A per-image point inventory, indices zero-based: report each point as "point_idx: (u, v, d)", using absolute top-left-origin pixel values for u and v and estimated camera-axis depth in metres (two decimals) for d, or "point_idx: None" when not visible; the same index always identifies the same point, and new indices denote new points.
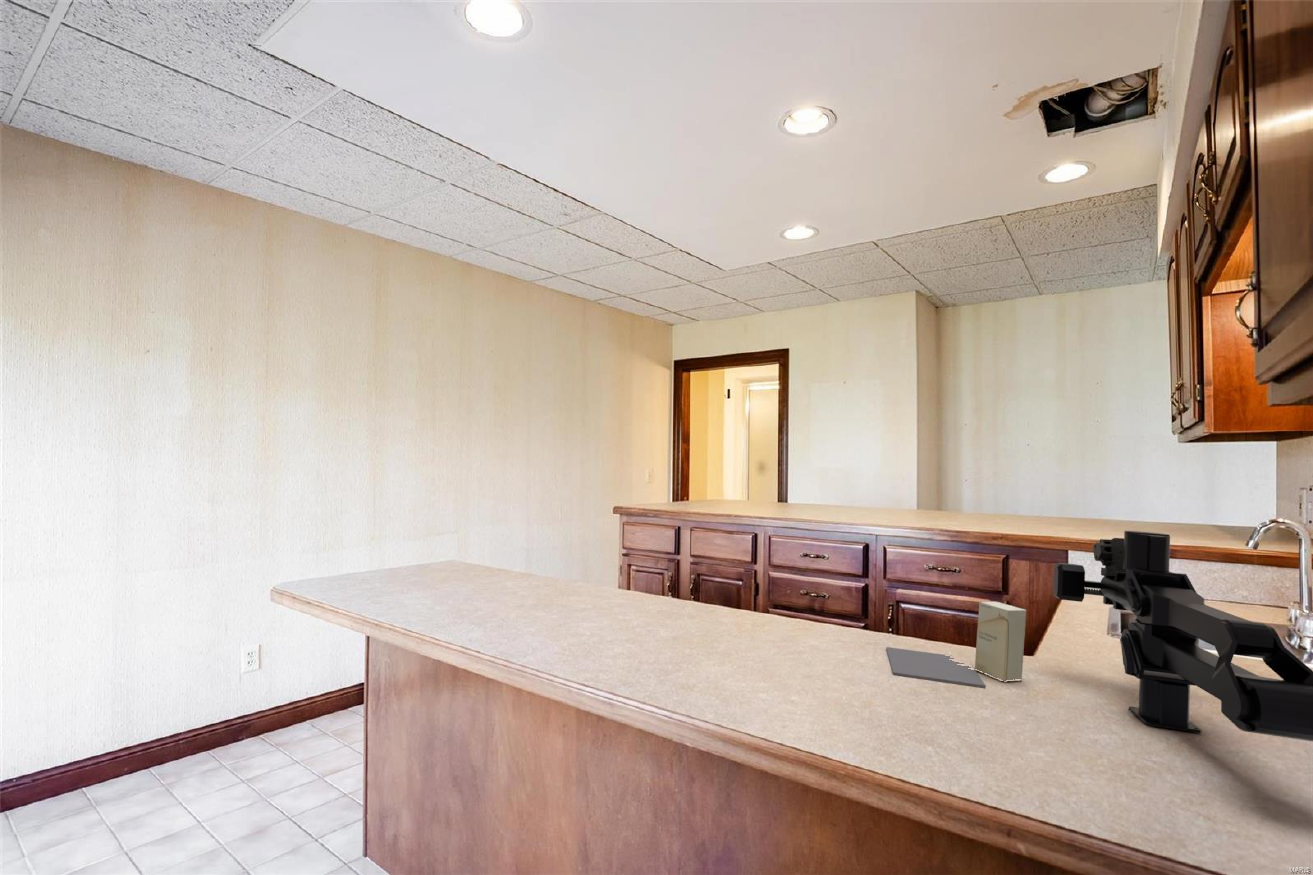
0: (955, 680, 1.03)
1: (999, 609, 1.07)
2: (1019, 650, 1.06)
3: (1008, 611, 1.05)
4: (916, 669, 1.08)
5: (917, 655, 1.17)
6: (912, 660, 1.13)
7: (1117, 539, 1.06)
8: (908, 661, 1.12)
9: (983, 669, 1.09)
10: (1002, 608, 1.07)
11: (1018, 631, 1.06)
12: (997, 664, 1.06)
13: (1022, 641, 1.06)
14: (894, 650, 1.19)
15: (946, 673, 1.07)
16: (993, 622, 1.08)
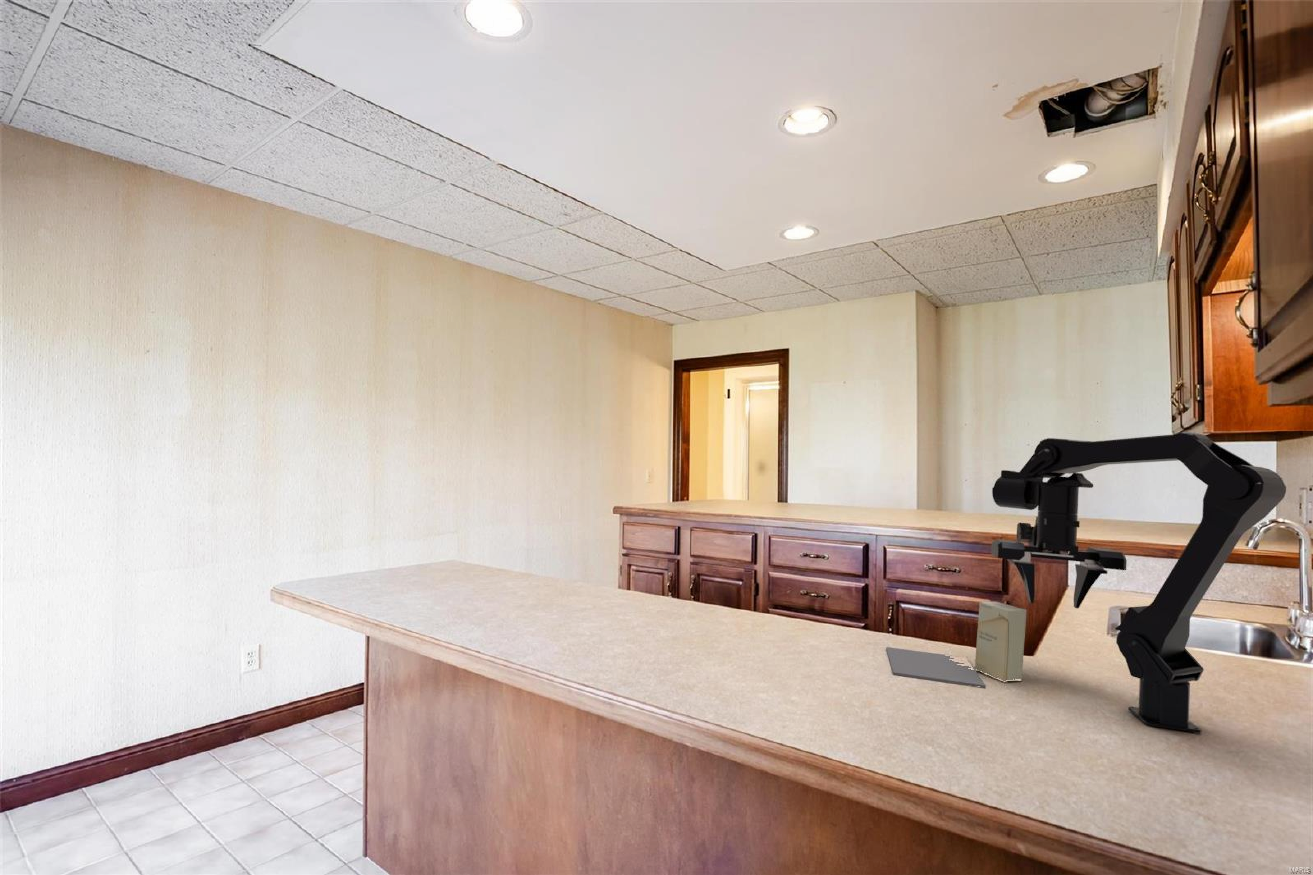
0: (955, 680, 1.03)
1: (999, 609, 1.07)
2: (1019, 650, 1.06)
3: (1008, 611, 1.05)
4: (916, 669, 1.08)
5: (917, 655, 1.17)
6: (912, 660, 1.13)
7: None
8: (908, 661, 1.12)
9: (983, 669, 1.09)
10: (1002, 608, 1.07)
11: (1018, 631, 1.06)
12: (997, 664, 1.06)
13: (1022, 641, 1.06)
14: (894, 650, 1.19)
15: (946, 673, 1.07)
16: (993, 622, 1.08)
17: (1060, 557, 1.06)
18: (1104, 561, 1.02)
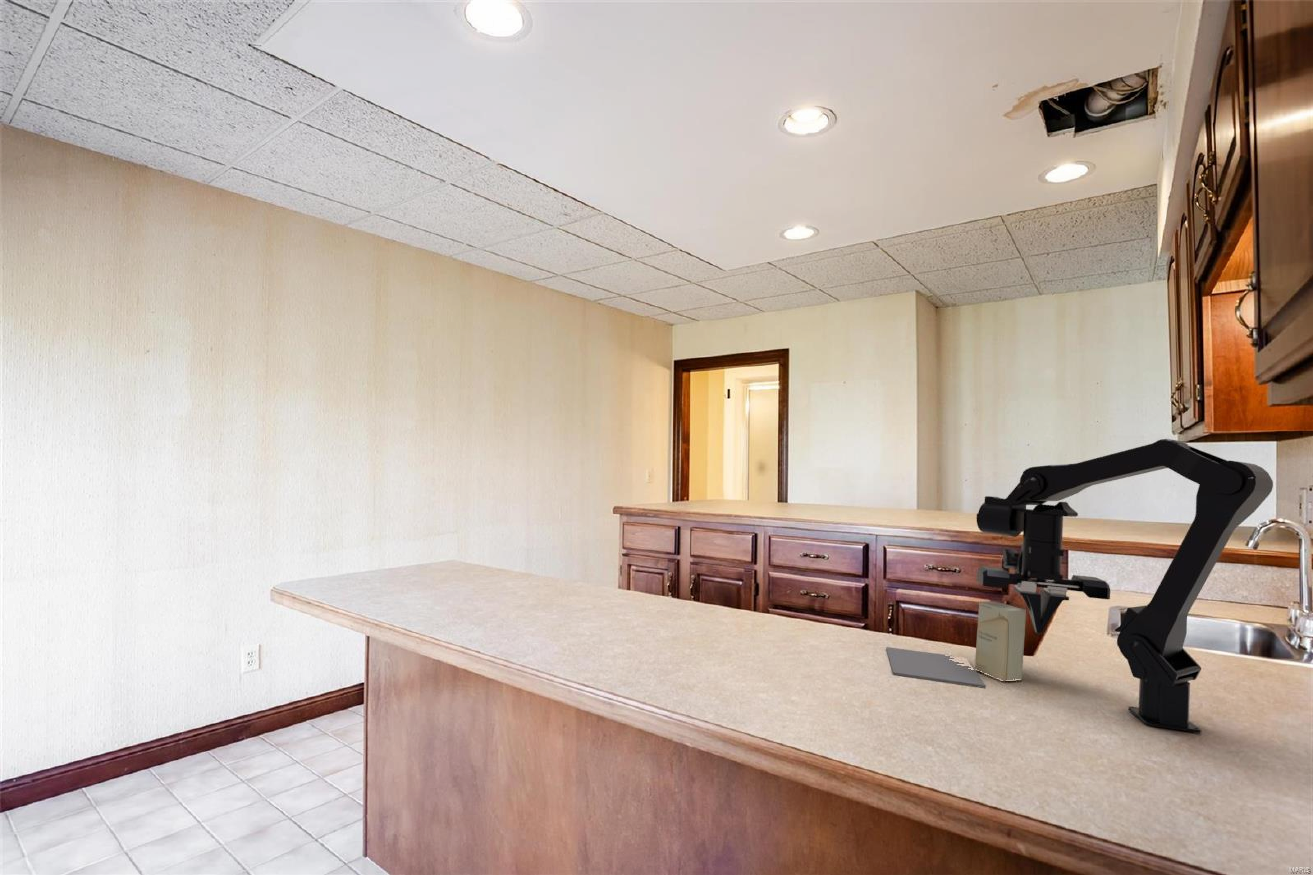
0: (955, 680, 1.03)
1: (999, 609, 1.07)
2: (1019, 650, 1.06)
3: (1008, 611, 1.05)
4: (916, 669, 1.08)
5: (917, 655, 1.17)
6: (912, 660, 1.13)
7: None
8: (908, 661, 1.12)
9: (983, 669, 1.09)
10: (1002, 608, 1.07)
11: (1018, 631, 1.06)
12: (997, 664, 1.06)
13: (1022, 641, 1.06)
14: (894, 650, 1.19)
15: (946, 673, 1.07)
16: (993, 622, 1.08)
17: (1045, 585, 1.07)
18: (1088, 590, 1.03)
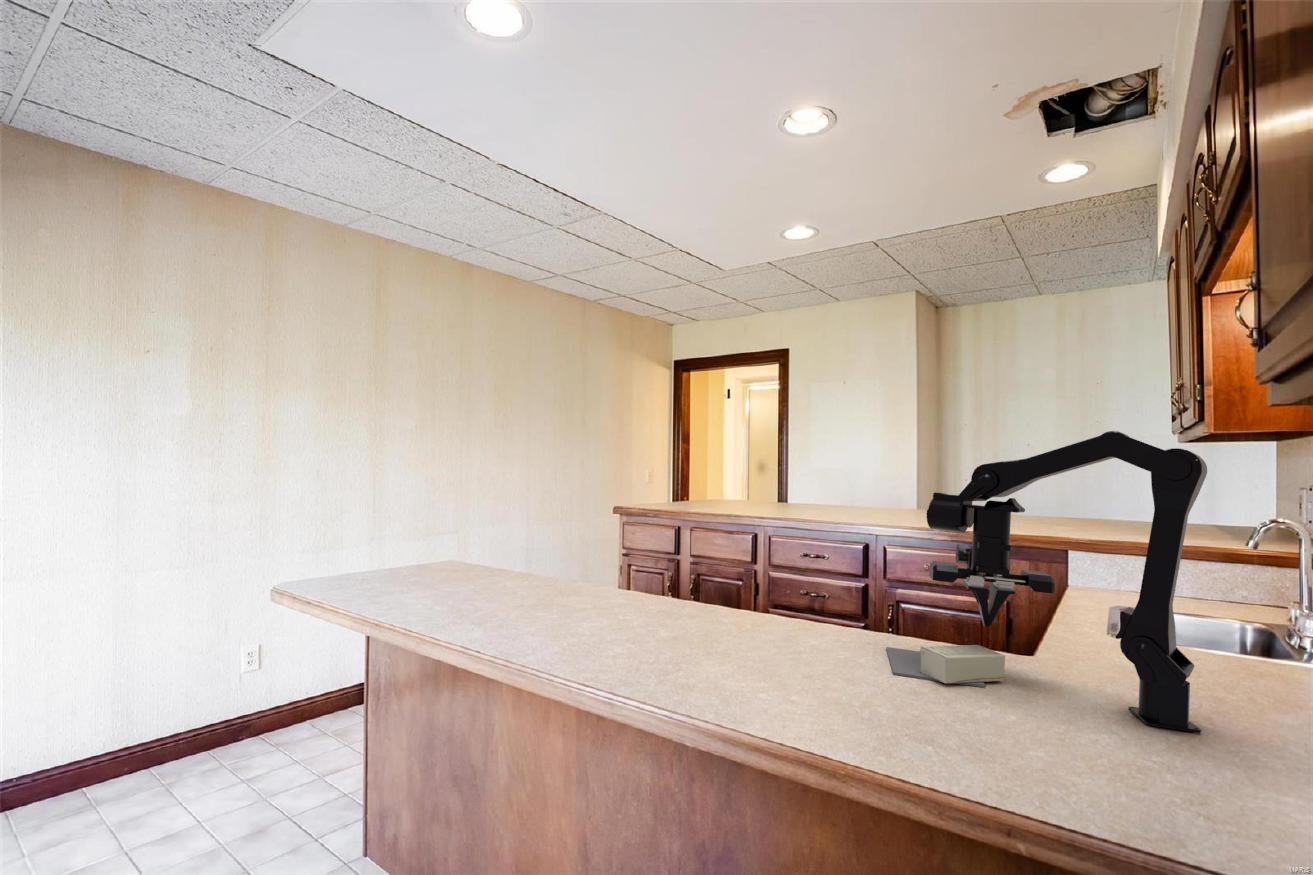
0: None
1: (939, 680, 1.03)
2: (980, 663, 1.03)
3: (946, 682, 1.01)
4: (916, 669, 1.08)
5: (917, 655, 1.17)
6: (912, 660, 1.13)
7: None
8: (908, 661, 1.12)
9: None
10: (939, 678, 1.03)
11: (964, 667, 1.02)
12: None
13: (973, 660, 1.03)
14: (894, 650, 1.19)
15: None
16: None
17: (993, 579, 1.09)
18: (1033, 584, 1.05)
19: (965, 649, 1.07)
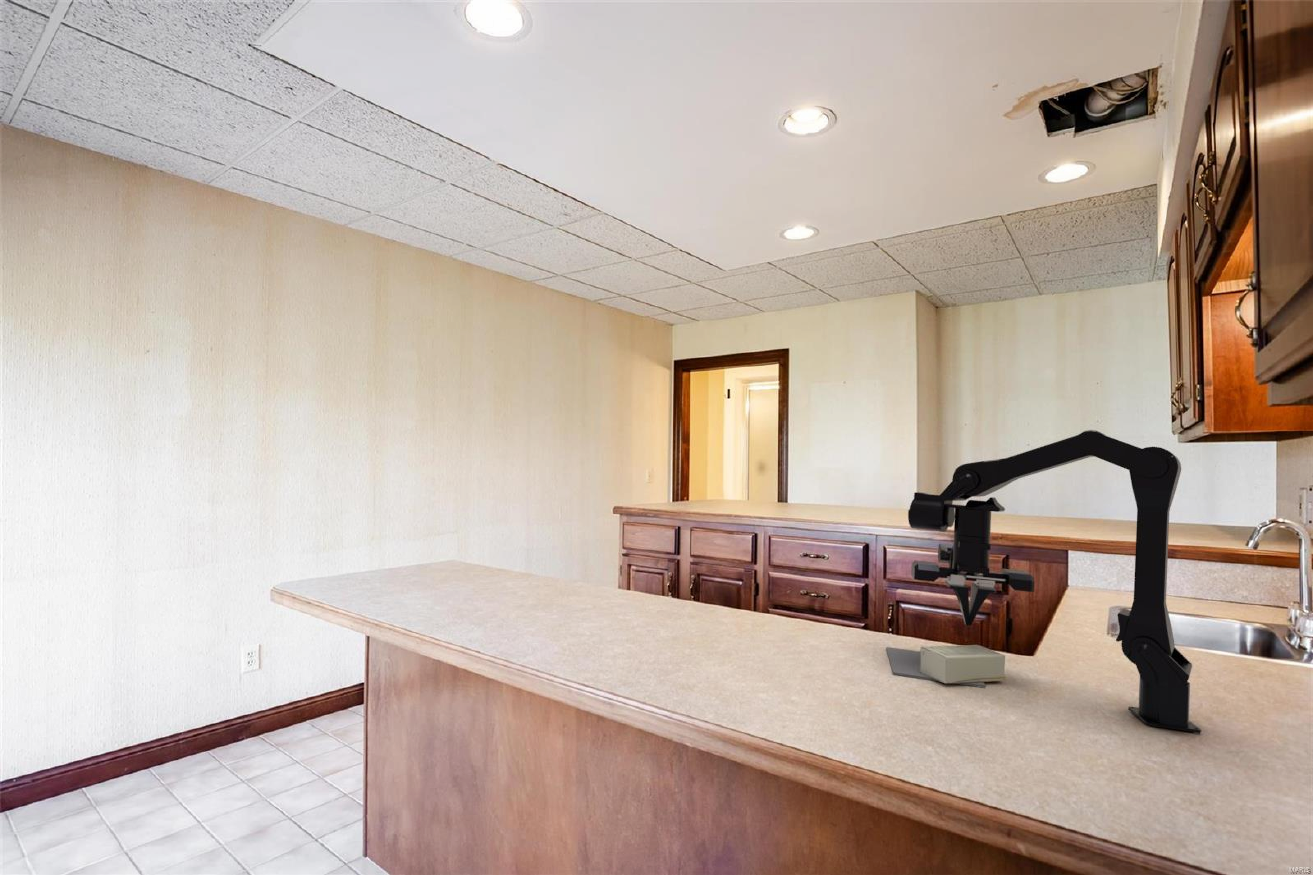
0: None
1: (939, 680, 1.03)
2: (980, 663, 1.03)
3: (946, 682, 1.01)
4: (916, 669, 1.08)
5: (917, 655, 1.17)
6: (912, 660, 1.13)
7: None
8: (908, 661, 1.12)
9: None
10: (939, 678, 1.03)
11: (964, 667, 1.02)
12: None
13: (973, 660, 1.03)
14: (894, 650, 1.19)
15: None
16: None
17: (974, 578, 1.10)
18: (1013, 583, 1.06)
19: (965, 649, 1.07)
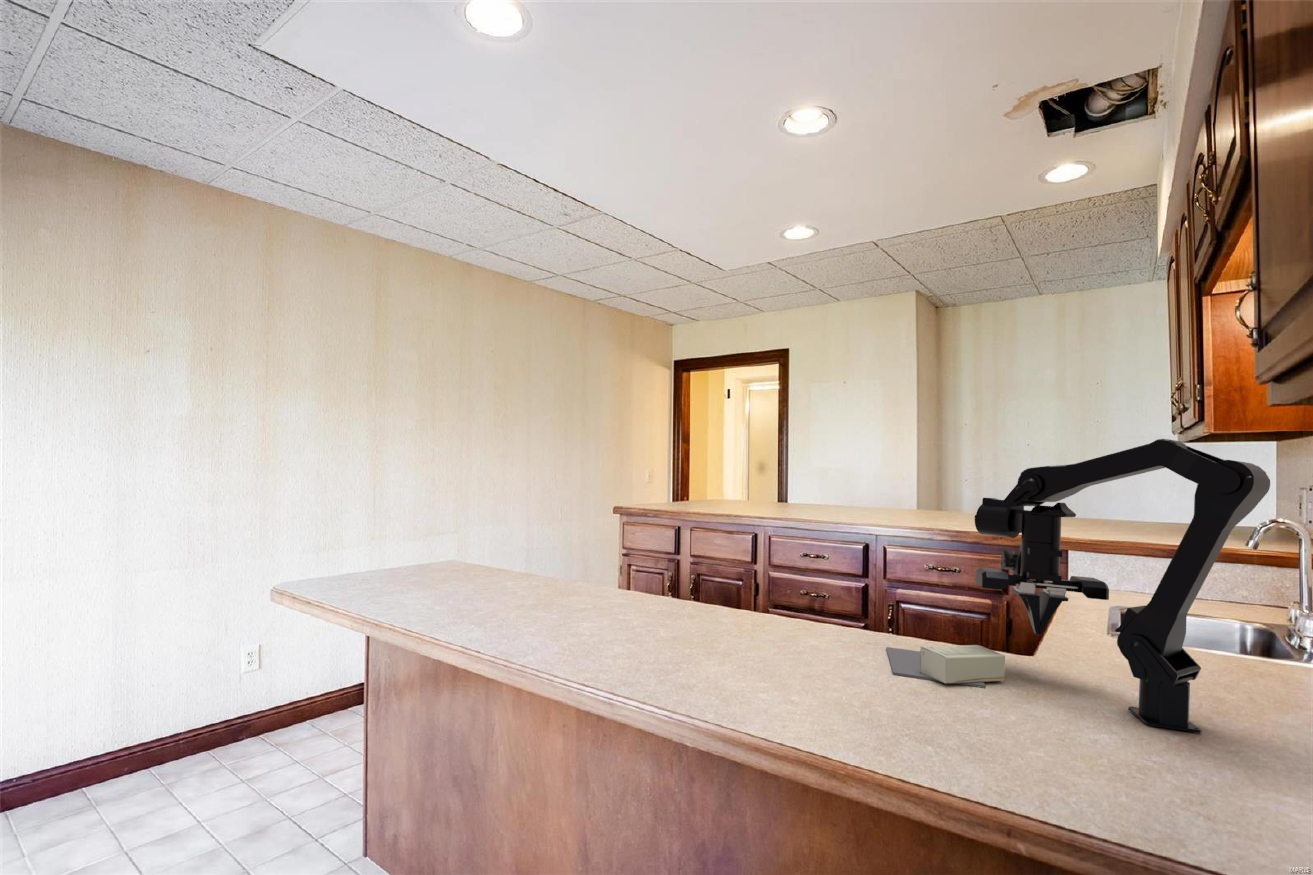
0: None
1: (939, 680, 1.03)
2: (980, 663, 1.03)
3: (946, 682, 1.01)
4: (916, 669, 1.08)
5: (917, 655, 1.17)
6: (912, 660, 1.13)
7: None
8: (908, 661, 1.12)
9: None
10: (939, 678, 1.03)
11: (964, 667, 1.02)
12: None
13: (973, 660, 1.03)
14: (894, 650, 1.19)
15: None
16: None
17: (1044, 586, 1.07)
18: (1087, 591, 1.03)
19: (965, 649, 1.07)
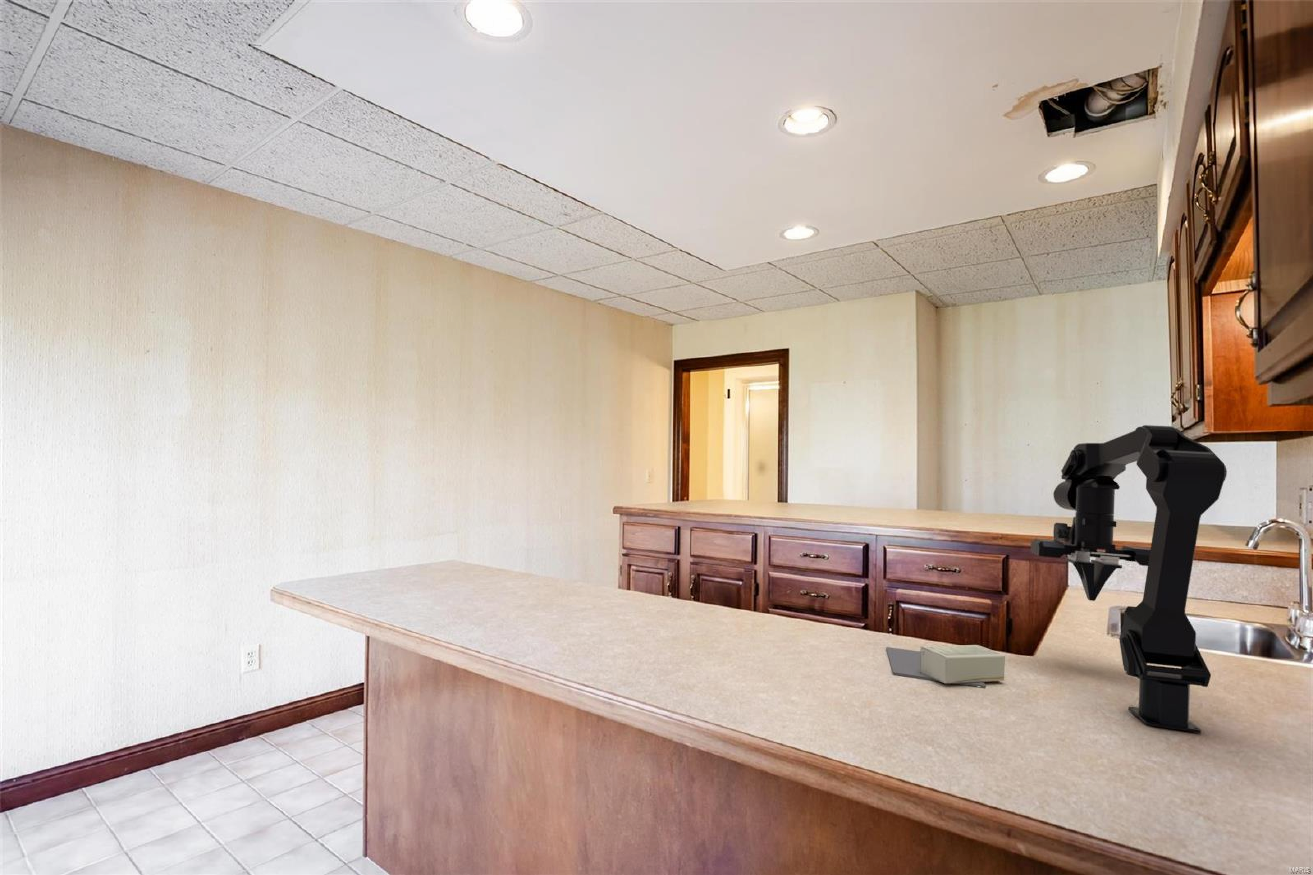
0: None
1: (939, 680, 1.03)
2: (980, 663, 1.03)
3: (946, 682, 1.01)
4: (916, 669, 1.08)
5: (917, 655, 1.17)
6: (912, 660, 1.13)
7: None
8: (908, 661, 1.12)
9: None
10: (939, 678, 1.03)
11: (964, 667, 1.02)
12: None
13: (973, 660, 1.03)
14: (894, 650, 1.19)
15: None
16: None
17: (1097, 555, 1.14)
18: (1140, 558, 1.09)
19: (965, 649, 1.07)
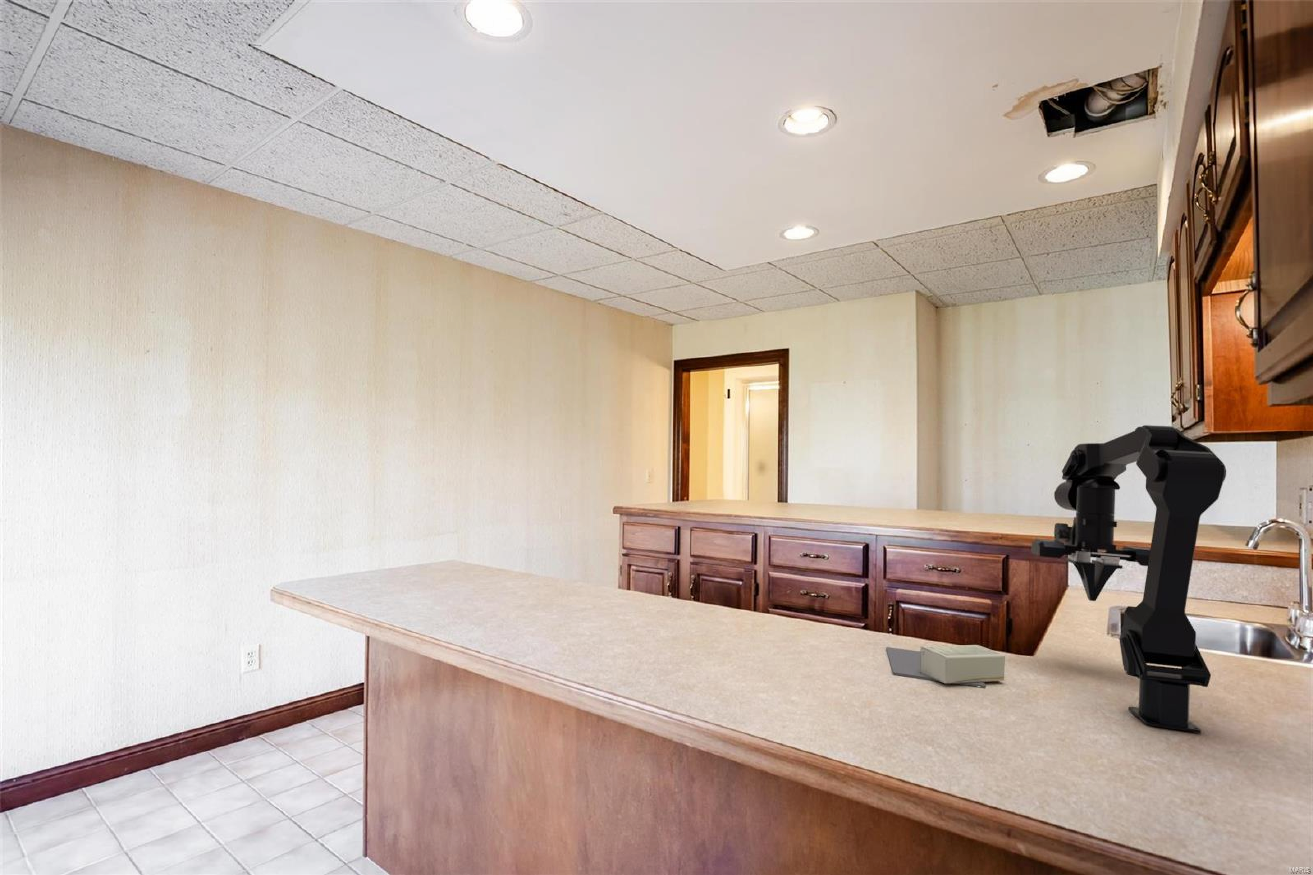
0: None
1: (939, 680, 1.03)
2: (980, 663, 1.03)
3: (946, 682, 1.01)
4: (916, 669, 1.08)
5: (917, 655, 1.17)
6: (912, 660, 1.13)
7: None
8: (908, 661, 1.12)
9: None
10: (939, 678, 1.03)
11: (964, 667, 1.02)
12: None
13: (973, 660, 1.03)
14: (894, 650, 1.19)
15: None
16: None
17: (1098, 555, 1.14)
18: (1140, 559, 1.09)
19: (965, 649, 1.07)
